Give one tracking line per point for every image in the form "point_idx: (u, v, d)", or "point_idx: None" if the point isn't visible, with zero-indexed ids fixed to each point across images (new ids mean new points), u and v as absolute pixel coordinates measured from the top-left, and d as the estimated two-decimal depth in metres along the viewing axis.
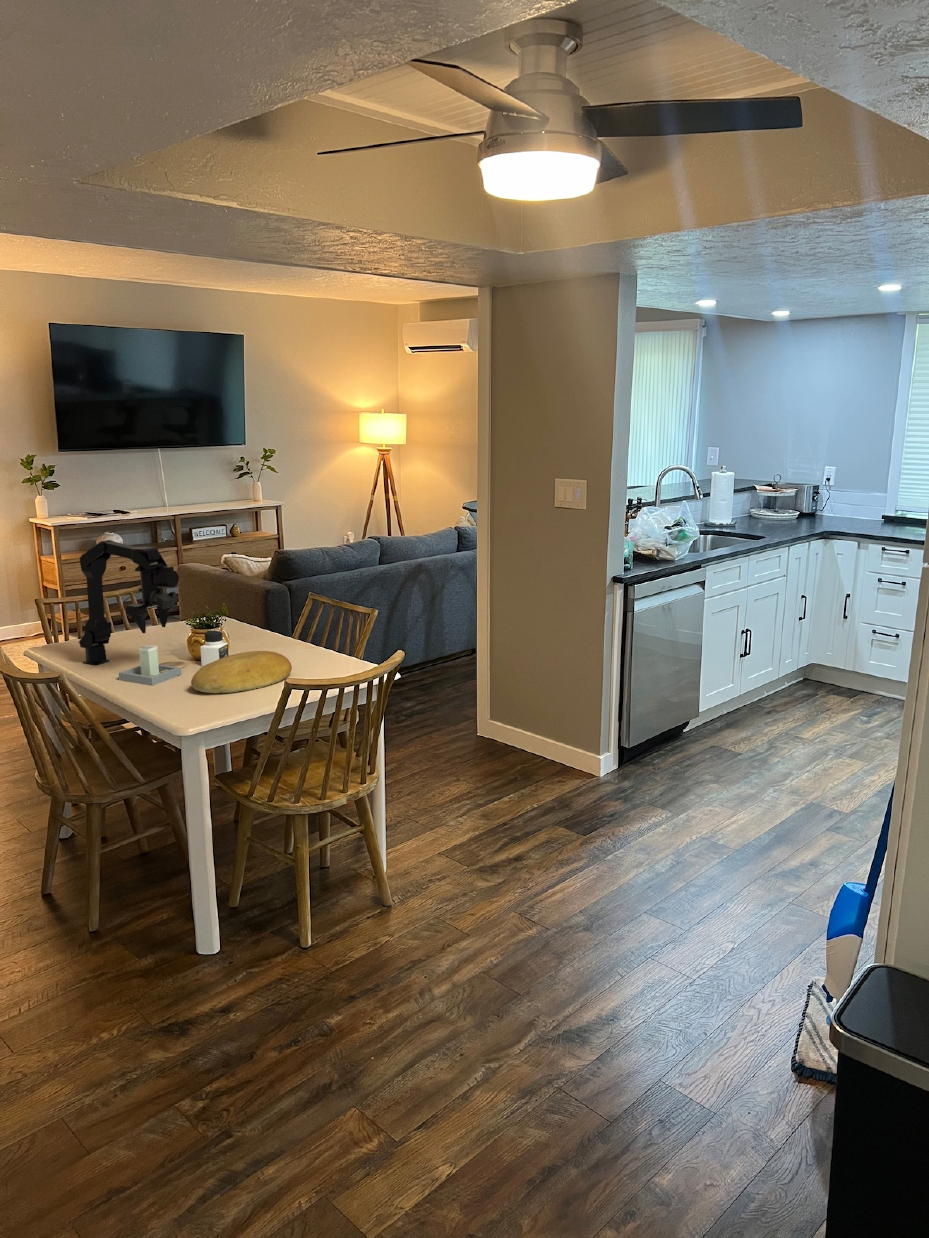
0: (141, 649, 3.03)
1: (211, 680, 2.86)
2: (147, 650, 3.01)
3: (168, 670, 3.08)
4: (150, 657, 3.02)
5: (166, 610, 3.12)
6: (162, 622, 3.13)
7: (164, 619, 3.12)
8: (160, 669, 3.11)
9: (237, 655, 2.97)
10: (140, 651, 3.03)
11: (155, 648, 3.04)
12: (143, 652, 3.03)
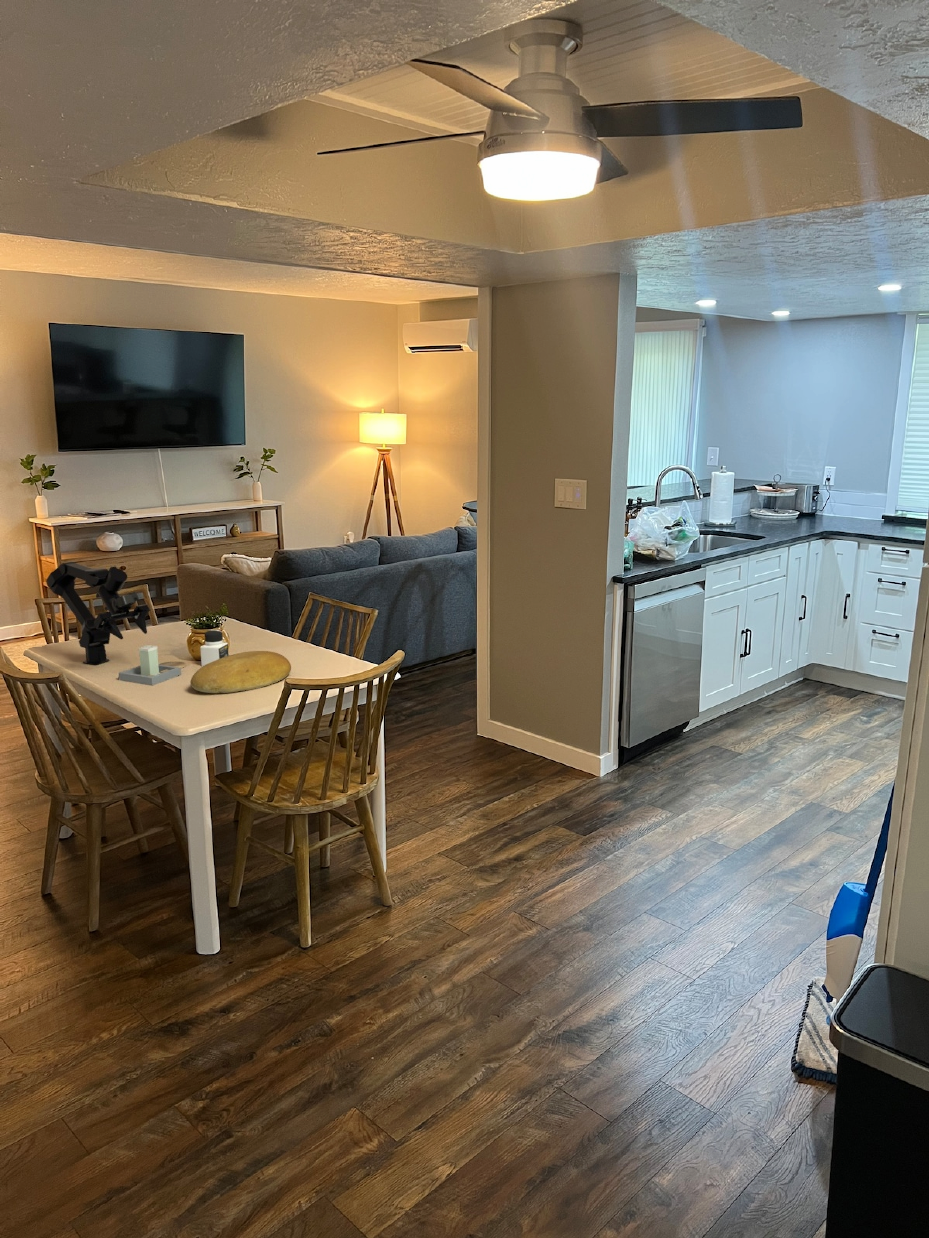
0: (141, 649, 3.03)
1: (210, 680, 2.86)
2: (147, 650, 3.01)
3: (168, 670, 3.08)
4: (150, 657, 3.02)
5: (140, 616, 3.12)
6: (143, 629, 3.11)
7: (142, 625, 3.11)
8: (160, 669, 3.11)
9: (236, 655, 2.97)
10: (140, 651, 3.03)
11: (155, 648, 3.04)
12: (143, 652, 3.03)
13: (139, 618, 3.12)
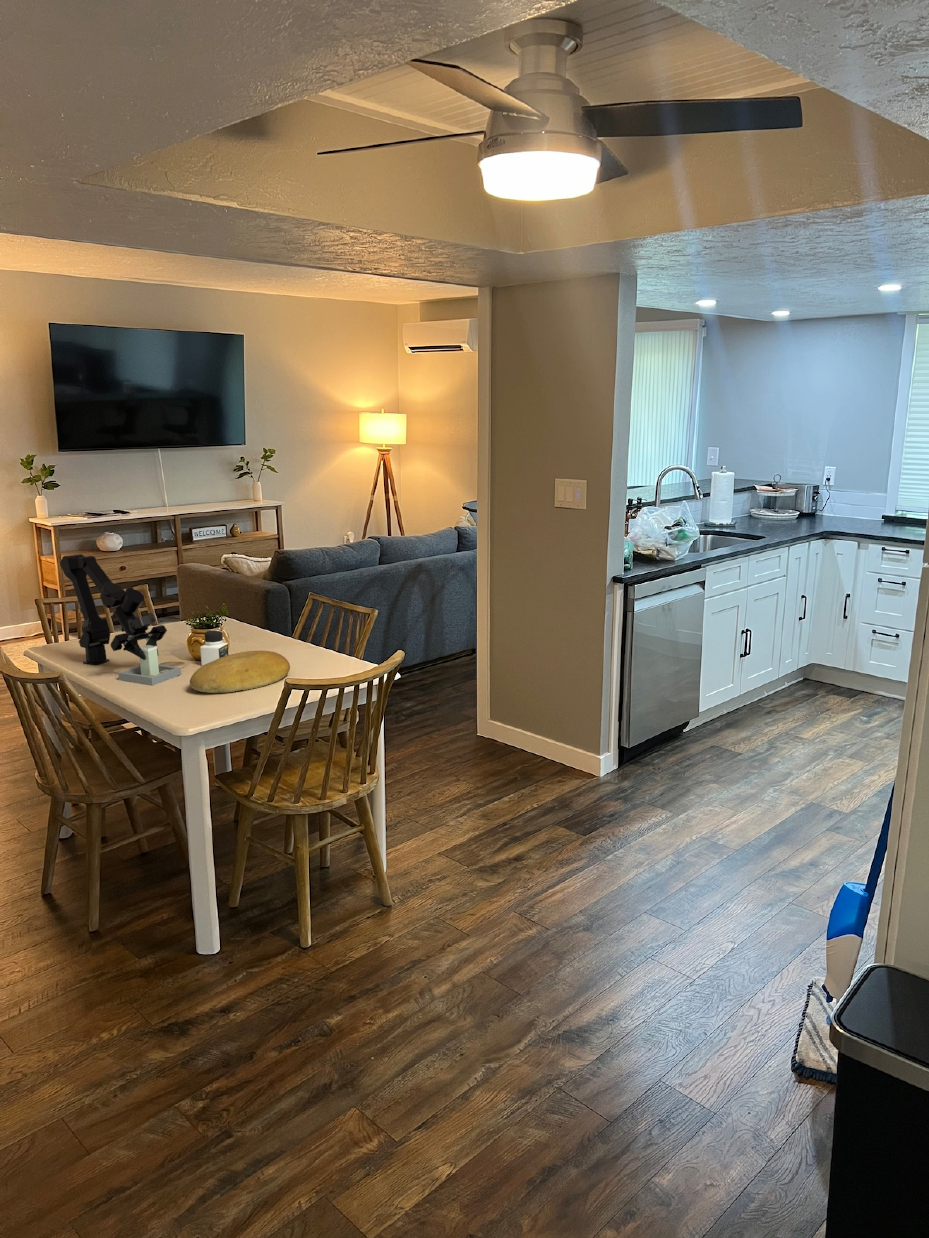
0: (141, 649, 3.02)
1: (210, 679, 2.86)
2: (147, 650, 3.01)
3: (168, 670, 3.08)
4: (149, 657, 3.02)
5: (151, 639, 3.07)
6: None
7: None
8: (160, 669, 3.11)
9: (235, 655, 2.97)
10: None
11: (155, 648, 3.04)
12: (143, 652, 3.02)
13: (150, 640, 3.07)
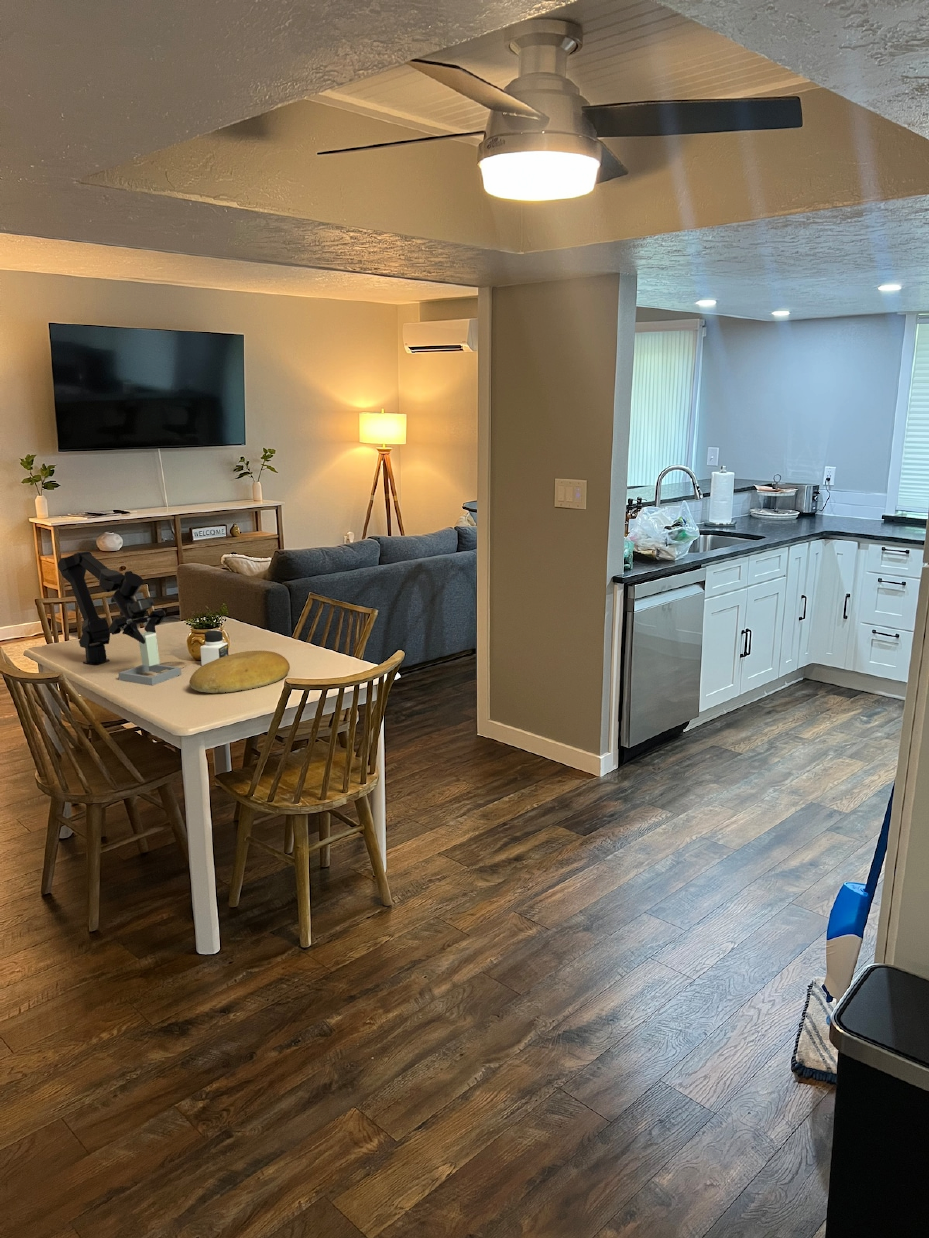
0: None
1: (209, 679, 2.86)
2: (144, 636, 3.00)
3: (168, 670, 3.08)
4: (147, 643, 3.01)
5: (150, 623, 3.05)
6: None
7: None
8: (160, 669, 3.11)
9: (235, 655, 2.97)
10: None
11: (154, 634, 3.03)
12: None
13: (149, 625, 3.06)
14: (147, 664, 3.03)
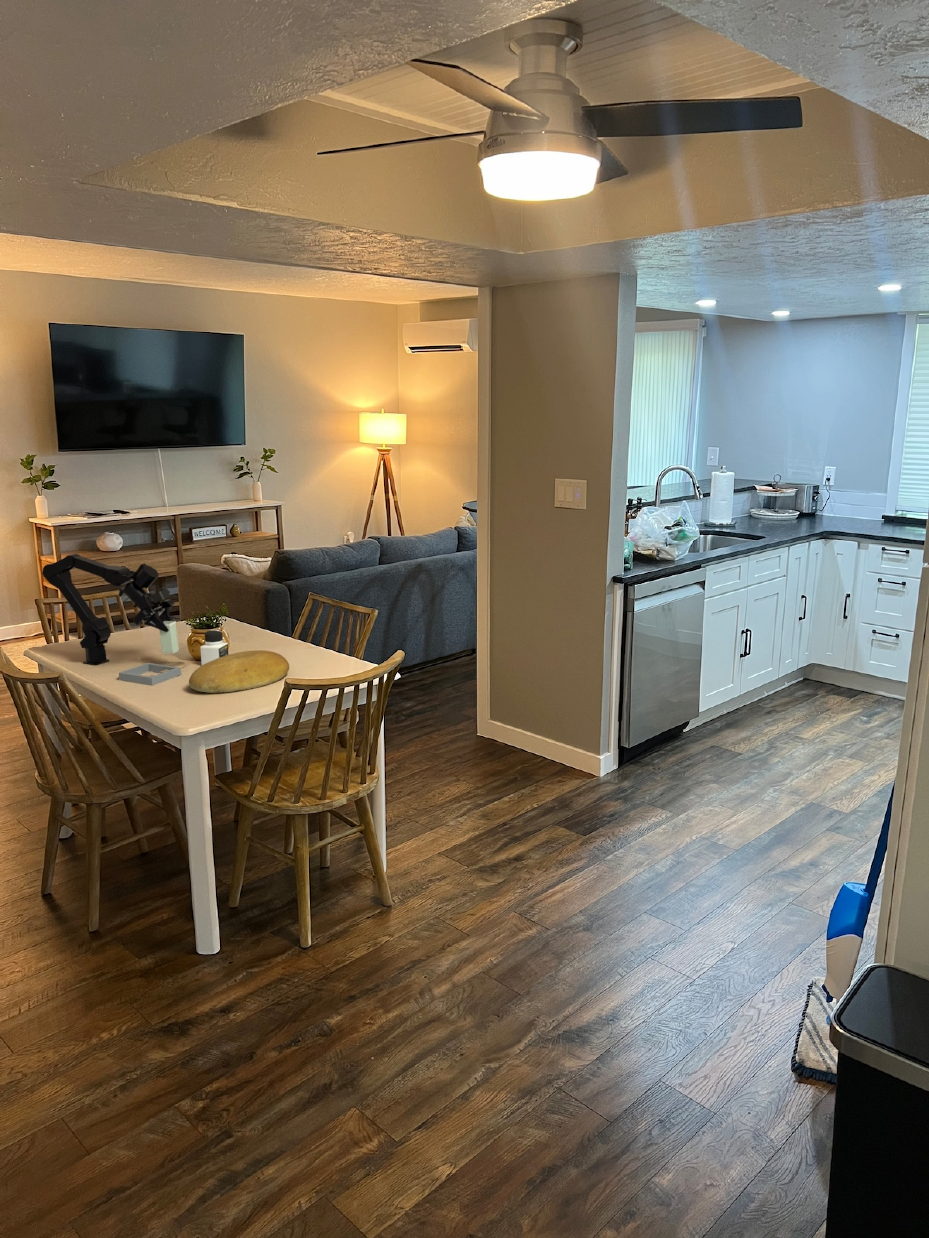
0: None
1: (208, 679, 2.86)
2: (168, 625, 3.13)
3: (168, 670, 3.08)
4: (171, 631, 3.14)
5: (165, 612, 3.17)
6: None
7: None
8: (160, 669, 3.11)
9: (235, 655, 2.97)
10: None
11: (174, 623, 3.16)
12: None
13: (164, 614, 3.17)
14: (170, 652, 3.15)
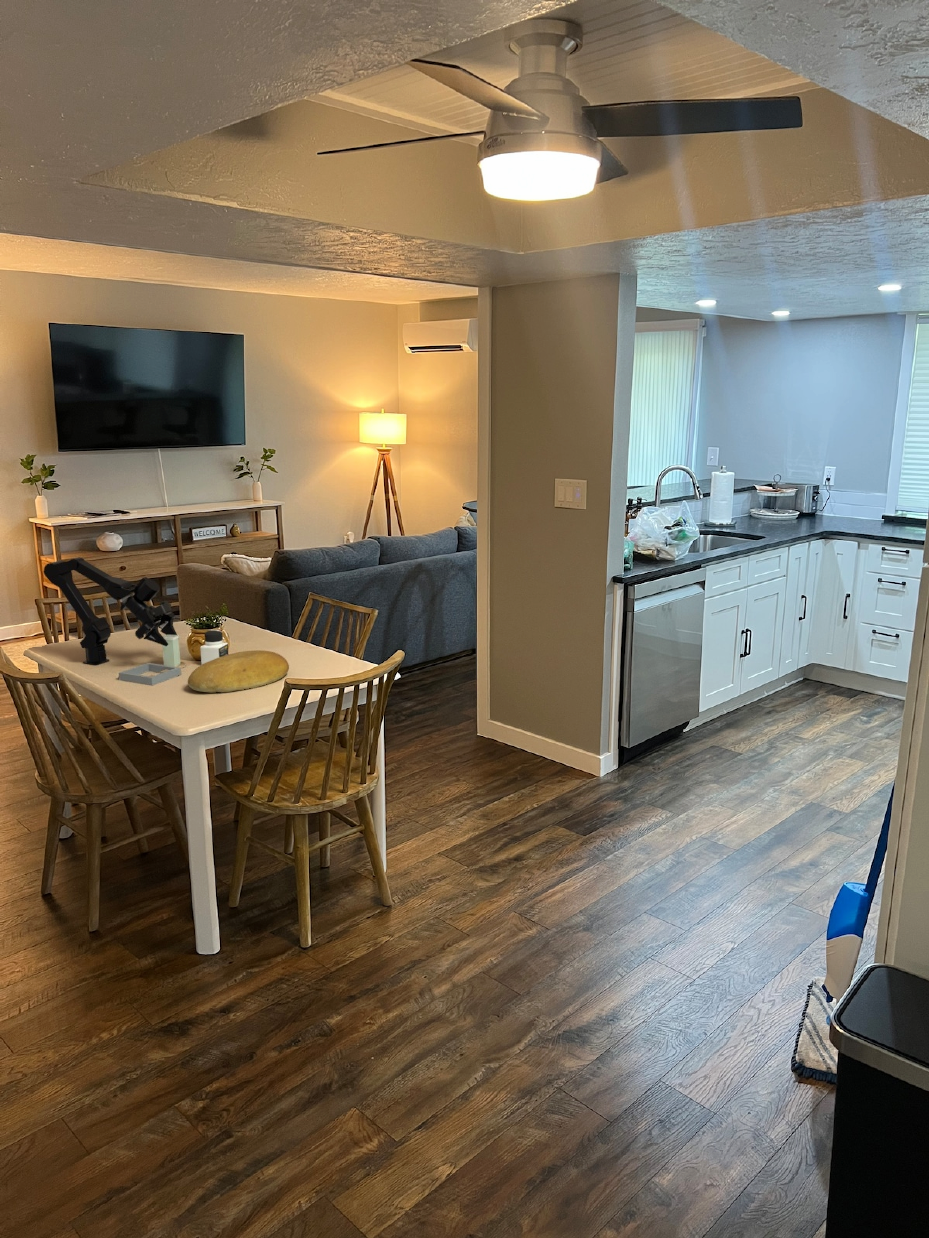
0: (165, 638, 3.15)
1: (207, 679, 2.86)
2: (172, 639, 3.14)
3: (168, 670, 3.08)
4: (174, 645, 3.15)
5: (169, 624, 3.20)
6: None
7: (173, 633, 3.20)
8: (160, 669, 3.11)
9: (234, 654, 2.98)
10: None
11: (177, 637, 3.17)
12: (167, 641, 3.15)
13: (167, 626, 3.20)
14: (171, 665, 3.17)
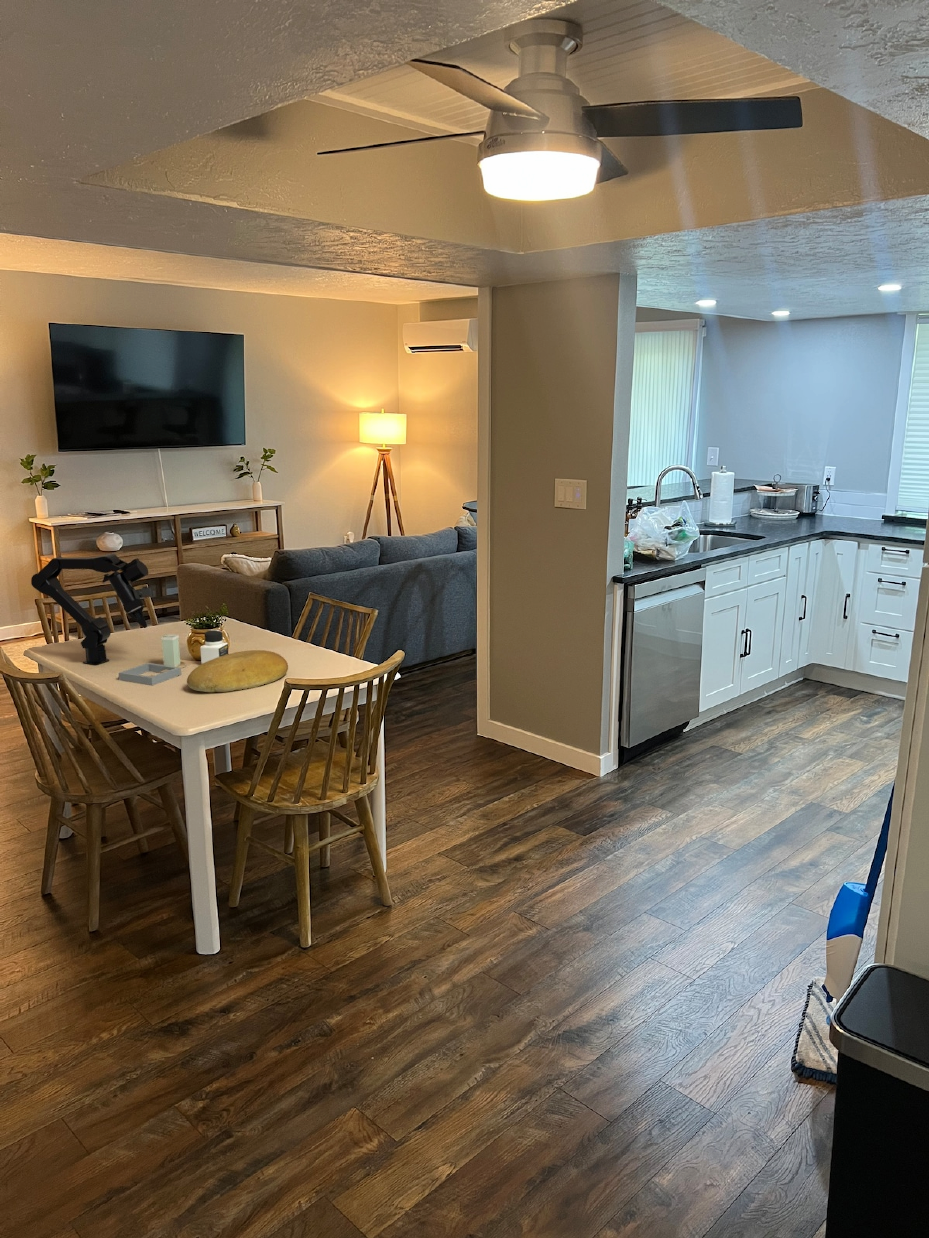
0: (164, 638, 3.15)
1: (206, 679, 2.87)
2: (171, 639, 3.14)
3: (168, 670, 3.08)
4: (173, 645, 3.15)
5: None
6: None
7: None
8: (160, 669, 3.11)
9: (233, 654, 2.98)
10: (163, 640, 3.15)
11: (177, 637, 3.17)
12: (167, 641, 3.15)
13: None
14: (171, 665, 3.17)
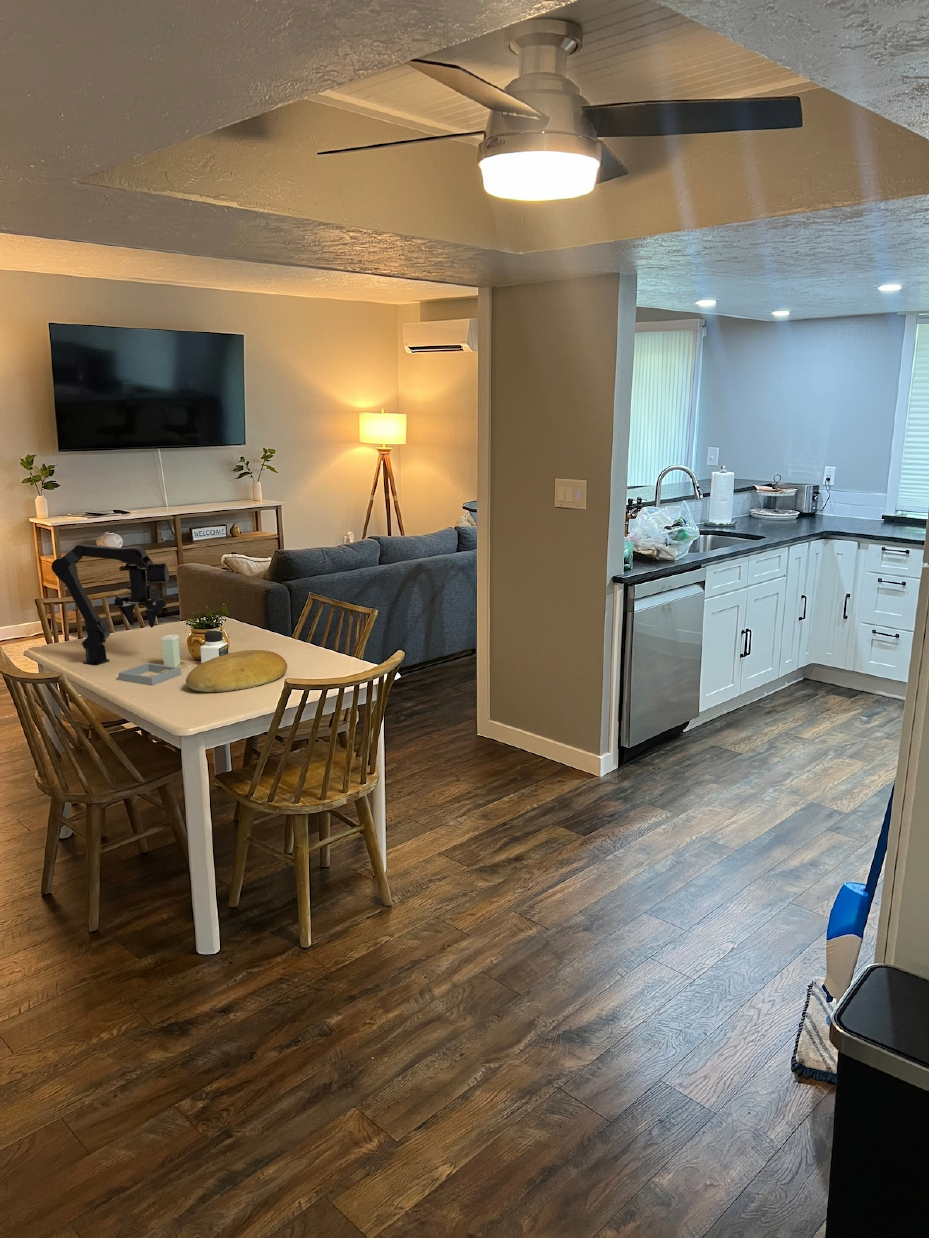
0: (164, 638, 3.15)
1: (205, 678, 2.87)
2: (171, 639, 3.14)
3: (168, 670, 3.08)
4: (173, 645, 3.15)
5: (132, 607, 3.24)
6: (131, 620, 3.24)
7: (132, 616, 3.24)
8: (160, 669, 3.11)
9: (232, 654, 2.98)
10: (163, 640, 3.15)
11: (177, 637, 3.17)
12: (167, 641, 3.15)
13: (131, 608, 3.24)
14: (171, 665, 3.17)
